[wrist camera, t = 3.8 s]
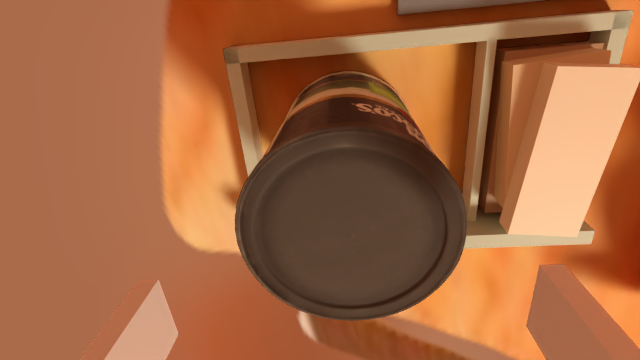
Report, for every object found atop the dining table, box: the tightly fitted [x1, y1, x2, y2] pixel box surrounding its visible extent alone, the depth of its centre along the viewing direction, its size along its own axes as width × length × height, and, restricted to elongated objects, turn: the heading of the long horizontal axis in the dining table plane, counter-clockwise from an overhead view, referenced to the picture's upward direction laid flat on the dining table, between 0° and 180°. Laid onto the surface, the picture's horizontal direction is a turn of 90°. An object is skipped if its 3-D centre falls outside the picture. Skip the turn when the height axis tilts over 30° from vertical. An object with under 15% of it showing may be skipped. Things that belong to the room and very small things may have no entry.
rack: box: [223, 10, 640, 249], centre depth 26 cm, size 16×26×5 cm, turn 95°
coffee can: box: [235, 71, 467, 321], centre depth 22 cm, size 10×10×14 cm
